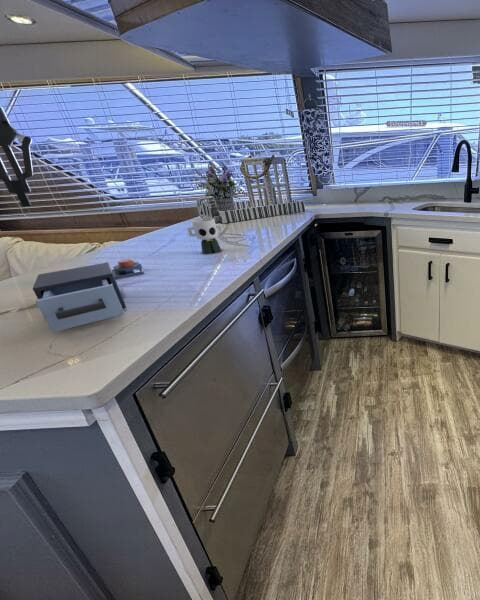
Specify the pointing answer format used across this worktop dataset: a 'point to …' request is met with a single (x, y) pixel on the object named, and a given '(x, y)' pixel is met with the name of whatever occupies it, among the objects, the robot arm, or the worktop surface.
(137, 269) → the panel
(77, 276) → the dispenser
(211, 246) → the character mug
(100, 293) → the drawer
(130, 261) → the button
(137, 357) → the worktop surface
